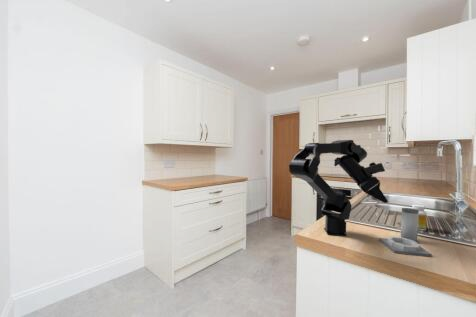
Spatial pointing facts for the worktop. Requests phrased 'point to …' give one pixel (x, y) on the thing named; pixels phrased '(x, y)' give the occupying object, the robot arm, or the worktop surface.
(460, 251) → the worktop surface
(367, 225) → the worktop surface
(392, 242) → the ring socket board
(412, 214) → the canister
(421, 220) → the supplement bottle
